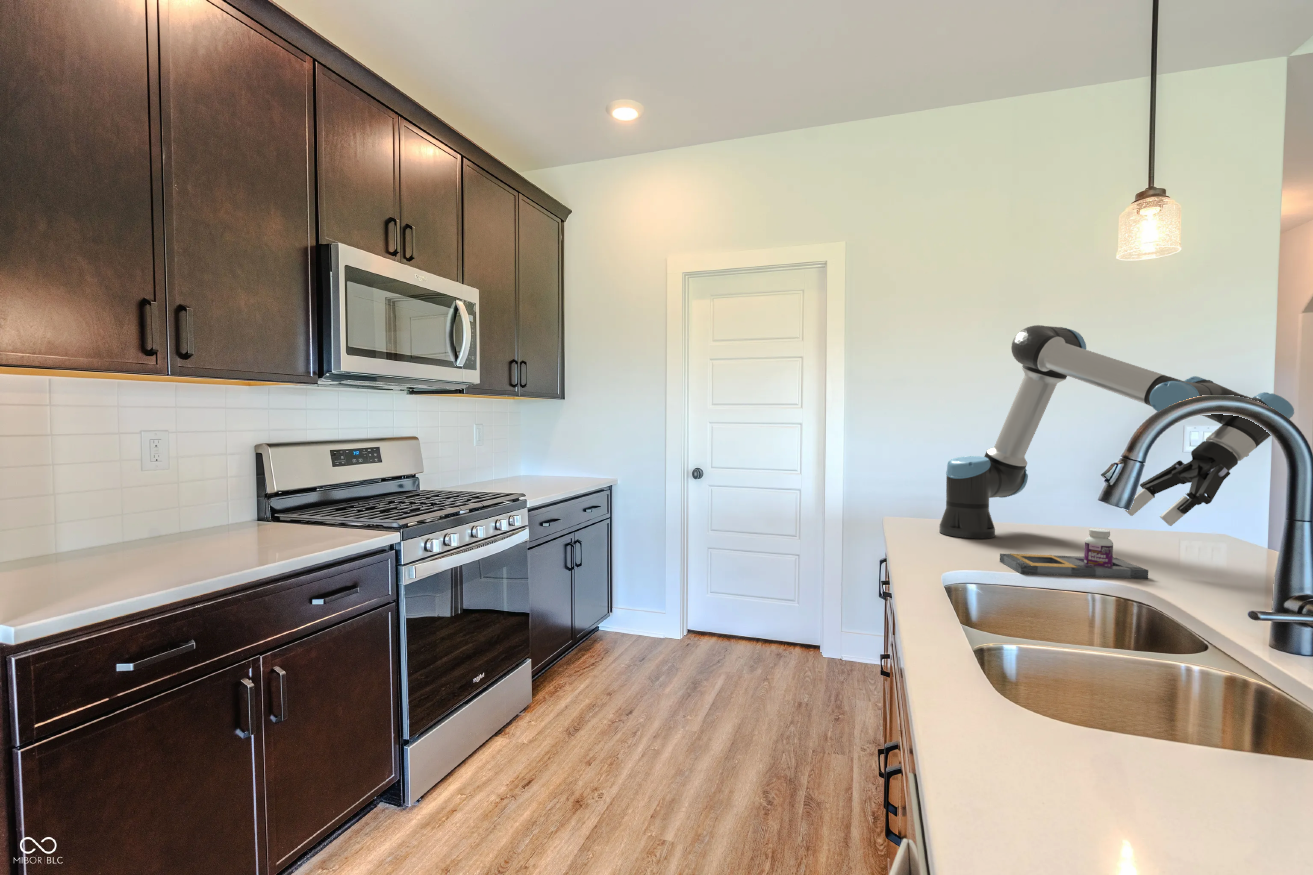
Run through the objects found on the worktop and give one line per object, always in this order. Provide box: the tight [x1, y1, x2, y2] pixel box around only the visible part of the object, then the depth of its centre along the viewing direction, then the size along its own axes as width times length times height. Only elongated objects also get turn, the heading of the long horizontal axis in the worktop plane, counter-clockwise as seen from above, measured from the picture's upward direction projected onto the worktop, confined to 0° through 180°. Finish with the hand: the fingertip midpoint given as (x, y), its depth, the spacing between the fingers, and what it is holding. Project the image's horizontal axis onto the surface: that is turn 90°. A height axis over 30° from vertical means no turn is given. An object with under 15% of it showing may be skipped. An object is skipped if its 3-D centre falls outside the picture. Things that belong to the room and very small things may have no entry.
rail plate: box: [999, 553, 1149, 580], centre depth 142 cm, size 12×26×2 cm, turn 81°
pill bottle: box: [1083, 528, 1114, 566], centre depth 141 cm, size 5×5×10 cm
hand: (1145, 516), depth 139 cm, fingers open, 13 cm apart
